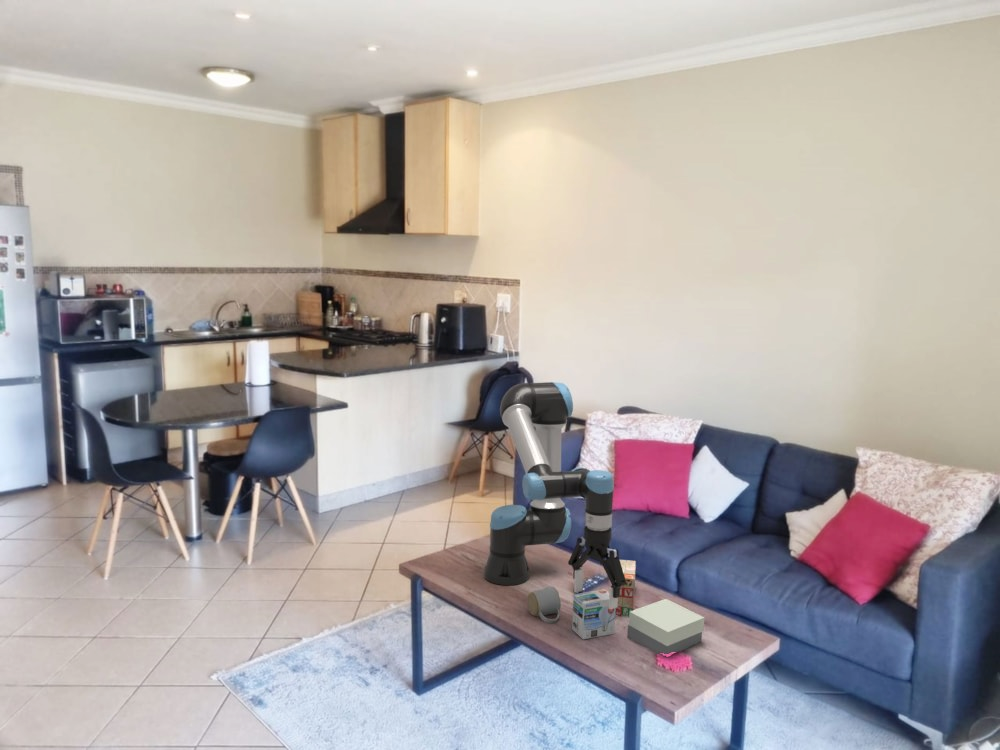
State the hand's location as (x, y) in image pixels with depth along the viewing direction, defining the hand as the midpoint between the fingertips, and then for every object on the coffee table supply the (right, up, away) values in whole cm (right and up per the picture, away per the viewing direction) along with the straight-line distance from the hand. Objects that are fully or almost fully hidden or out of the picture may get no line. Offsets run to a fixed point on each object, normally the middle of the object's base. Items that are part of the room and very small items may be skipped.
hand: (595, 599), depth 211 cm
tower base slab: (+19, -11, -2) cm, 22 cm away
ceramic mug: (-13, -8, +11) cm, 19 cm away
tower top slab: (+19, -7, -2) cm, 21 cm away
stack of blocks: (+12, -7, +22) cm, 26 cm away
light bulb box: (0, -10, +2) cm, 10 cm away
